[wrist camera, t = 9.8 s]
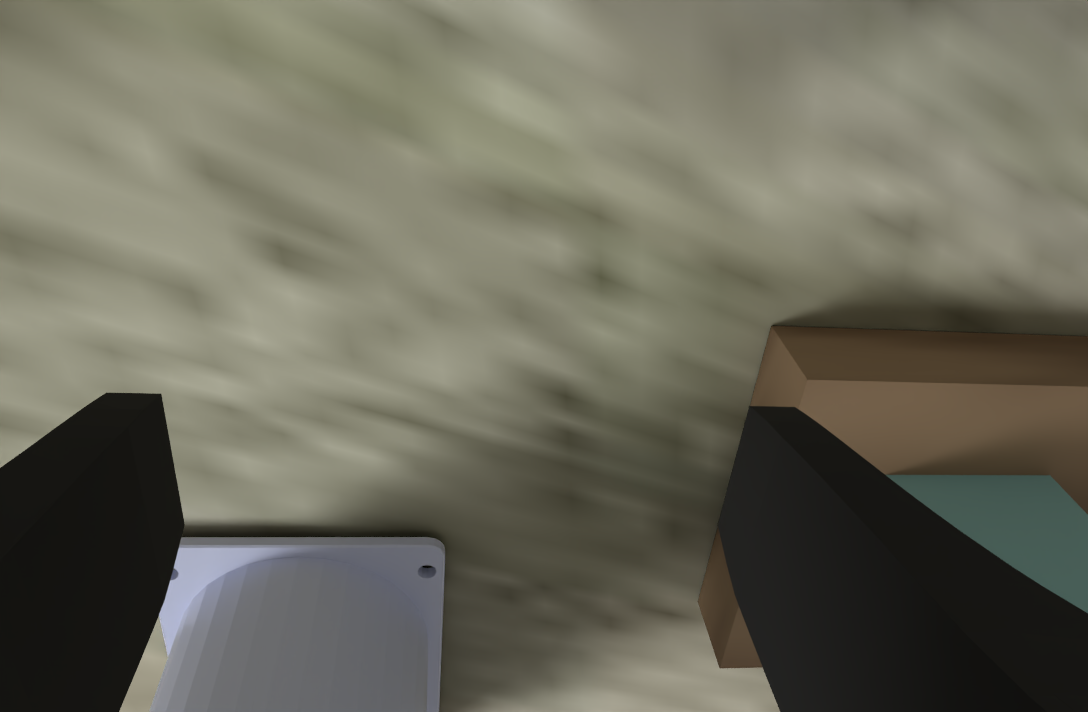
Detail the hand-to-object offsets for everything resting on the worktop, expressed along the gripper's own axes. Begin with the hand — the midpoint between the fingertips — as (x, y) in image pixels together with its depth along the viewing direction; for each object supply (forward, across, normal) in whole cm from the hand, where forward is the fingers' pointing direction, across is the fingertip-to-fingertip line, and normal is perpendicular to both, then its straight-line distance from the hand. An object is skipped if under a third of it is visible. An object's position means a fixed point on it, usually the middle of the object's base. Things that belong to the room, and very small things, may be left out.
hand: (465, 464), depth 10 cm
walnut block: (+9, -13, +8) cm, 18 cm away
